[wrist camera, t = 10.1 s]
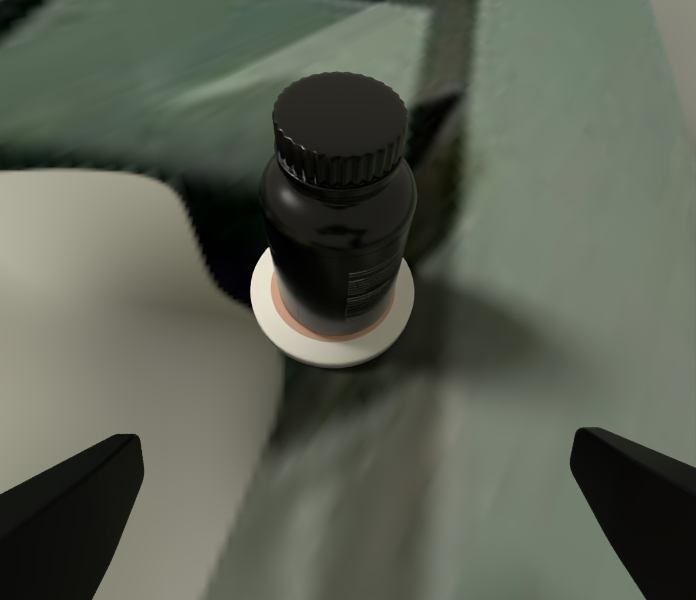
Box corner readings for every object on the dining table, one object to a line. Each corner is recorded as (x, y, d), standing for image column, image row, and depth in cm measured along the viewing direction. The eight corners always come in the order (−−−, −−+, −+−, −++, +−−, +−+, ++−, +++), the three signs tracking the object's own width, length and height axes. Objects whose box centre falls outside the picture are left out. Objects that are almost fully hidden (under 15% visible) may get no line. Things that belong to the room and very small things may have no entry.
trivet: (443, 298, 26) (447, 289, 25) (327, 404, 22) (327, 398, 21) (336, 208, 29) (337, 198, 28) (220, 288, 25) (216, 279, 24)
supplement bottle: (386, 243, 26) (429, 57, 16) (395, 339, 23) (457, 184, 12) (281, 242, 26) (252, 50, 15) (274, 340, 22) (232, 179, 12)
